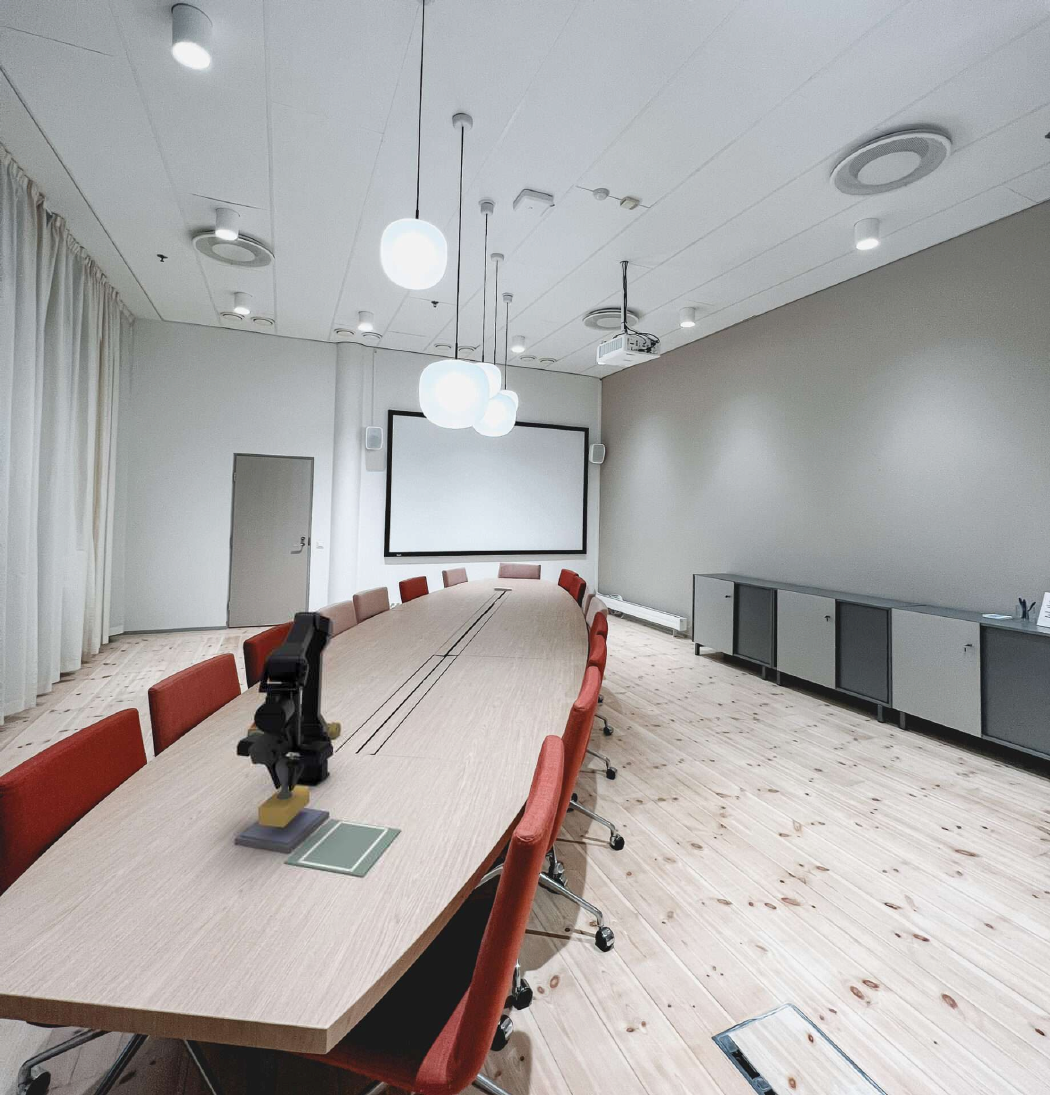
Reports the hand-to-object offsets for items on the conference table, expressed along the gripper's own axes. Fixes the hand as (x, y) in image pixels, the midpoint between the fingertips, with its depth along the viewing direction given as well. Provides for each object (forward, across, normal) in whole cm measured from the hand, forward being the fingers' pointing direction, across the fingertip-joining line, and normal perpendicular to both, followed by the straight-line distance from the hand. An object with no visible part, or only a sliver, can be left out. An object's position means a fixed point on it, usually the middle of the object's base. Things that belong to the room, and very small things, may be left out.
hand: (284, 789), depth 118 cm
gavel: (+9, -20, +39) cm, 45 cm away
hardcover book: (+10, -38, +50) cm, 63 cm away
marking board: (+8, +15, -2) cm, 17 cm away
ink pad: (+8, 0, 0) cm, 8 cm away
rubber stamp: (+5, 0, 0) cm, 5 cm away
